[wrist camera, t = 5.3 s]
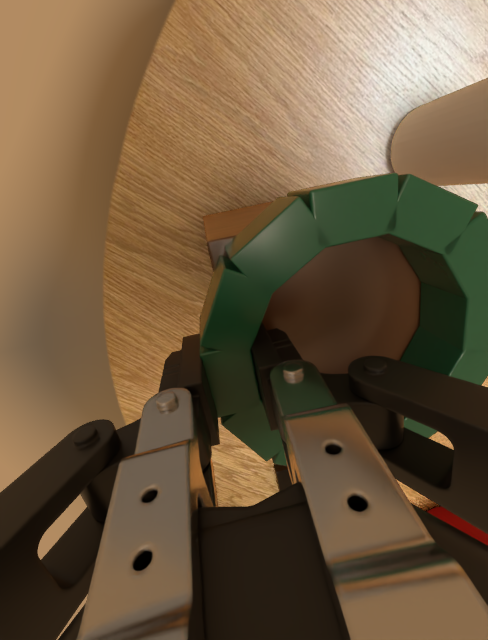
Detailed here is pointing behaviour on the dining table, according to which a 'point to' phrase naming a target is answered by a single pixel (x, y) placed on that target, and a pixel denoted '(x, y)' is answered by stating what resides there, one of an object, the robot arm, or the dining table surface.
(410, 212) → the ring
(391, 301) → the brown rectangular block
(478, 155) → the beverage can
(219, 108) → the dining table surface
